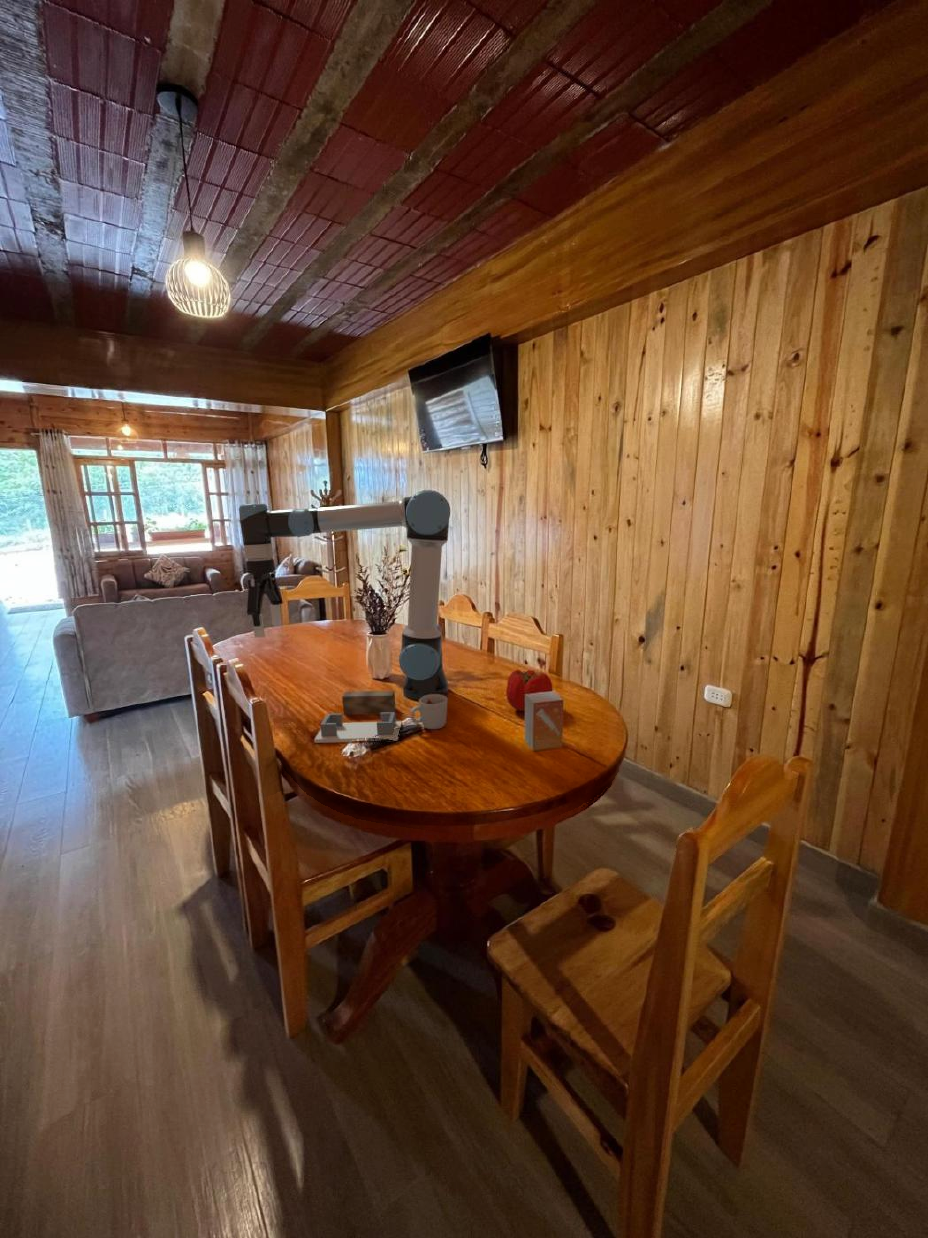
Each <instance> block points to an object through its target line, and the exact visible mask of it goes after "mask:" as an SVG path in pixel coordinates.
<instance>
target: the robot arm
mask: <svg viewBox="0 0 928 1238" xmlns="http://www.w3.org/2000/svg"><path fill="white" fill-rule="evenodd" d="M238 513H239V524H240V529H241V537H242V543H243V548H242V551H244V557H245V559H246V562H245V567H246V572H247V574H249V575H253V577H252V578H248V580H247V584H248V591H247V605H246V613H247V616H251V621H252V629H253V635H254V638H265V637H266V633H265V624H264V618H263V613H262V606H263V600H264V595H266V597H267V598H268V600H269V602H270V605H269V608H270V617H271V622H272V623H271V624H272V626H273V627H276V626H277V627H282V626H283V620H282V613H281V605H283V603H284V601H283V596H282V593H281V591H280V589H279V588H280V587H279V585H278V582H277V579H276V573H275V571H276V567H275V566H276V565H275V560H274V559H273V557H274V551H273V550H274V549H273V543H272V538H291V537H292V538H293V537H294V538H295V537H297V538H302V537H309V536H311V535H312V534H321V533H335V532H346V531H347V532H348V531H360V530H361V531H362V530H371V529H384V528H397V527H404V528H405V529H406V539H407V540H408V542H409V543H410V544H411V555H410V571H409V573H410V574H409V592H408V593H409V594H408V595H409V596H408V609H407V610H408V611H407V612H408V613H407V625H406V627H405V628H404V629H402V632H401V646H400V653H399V655H398V663H399V664H398V665H399V668H400V670H401V671H402V673H403V674H404V675H405V679H404V683H403V686H402V693H403V696H404V697H406V698H408V699H411V700H416V701H419V699H420V698H421V697H423V696H425V695H430V694H439V695H443V696H446V695H447V694H448V693H449V691H450V689H449V682H448V679H447V677H446V674H445V671H444V669H443V668H444V667H443V646H442V645H443V641H442V634H443V632H442V627H441V626H440V624H438V612H439V597H440V585H441V583H440V582H441V581H440V580H441V567H442V554H443V551H442V550H443V547H444V545H445V544H447V542H448V539H449V527H450V518H451V506H450V503H449V501H448V499H447V498H446V497H445V496H444V495H443V494H441V493H440V492H438V491H436V490H431V489H424V490H420V491H418V492H416V493H415V494H414V495H412V496H405V497H404V496H403V498H402V499H401V500H398V501H397V500H396V501H385V502H384V501H383V502H374V503H373V502H372V503H361V504H359V503H358V504H350V505H337V506H336V505H335V506H327V507H326V506H325V507H314V508H296V509H295V508H294V509H278V510H269V509H268V505H267V504H265V503H249V504H248V503H247V504H246V503H245V504H241V505H240V506H239V508H238Z"/></svg>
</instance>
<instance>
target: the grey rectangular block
mask: <svg viewBox="0 0 928 1238" xmlns="http://www.w3.org/2000/svg"><path fill="white" fill-rule="evenodd" d="M341 699H342V700H341V701H342V709H343V710H342V711H343V715H344V716H345V715H346V716H347V715H380V713H381V712H395V711H396V696H395V690H363V691H362V690H361V691H359V690H357V691H354V690H353V691H352V690H351V691H345V692H344V693H343V694H342V696H341Z"/></svg>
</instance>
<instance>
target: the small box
mask: <svg viewBox="0 0 928 1238" xmlns="http://www.w3.org/2000/svg"><path fill="white" fill-rule="evenodd" d="M563 726H564V699H563V697H561V696H560V695H559V694H558V693H557V692H556V691H554V690H553V691H551V692H539V693H533V694H525V711H524V741H525V742H526V744H527V746H528V747H530V749H531V750H532V751H533V752H535V751H542V750H549V749H557V748H558V749H559V748H563V734H564V730H563V729H564V728H563Z"/></svg>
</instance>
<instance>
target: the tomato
mask: <svg viewBox="0 0 928 1238" xmlns="http://www.w3.org/2000/svg"><path fill="white" fill-rule="evenodd" d="M552 683H553V682H552V681H551V678H550V677H549V675H548V674H547V673H545V672H539V671H538V672H535V670H530V669H528V670H527V671H526V670H522V671H521V670H520V669H517V670H514V671H512V672H511V673H510V675H509V676H508V679H507V684H506V690H505V691H506V693H505V696H506V699H507V701H508V704H509V705H510V706H511V707H512V708H513V709H515V710H517V711H519V712H525V694H533V693H539V692H551V691H554V690H553V688H554V687H553V684H552Z"/></svg>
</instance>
